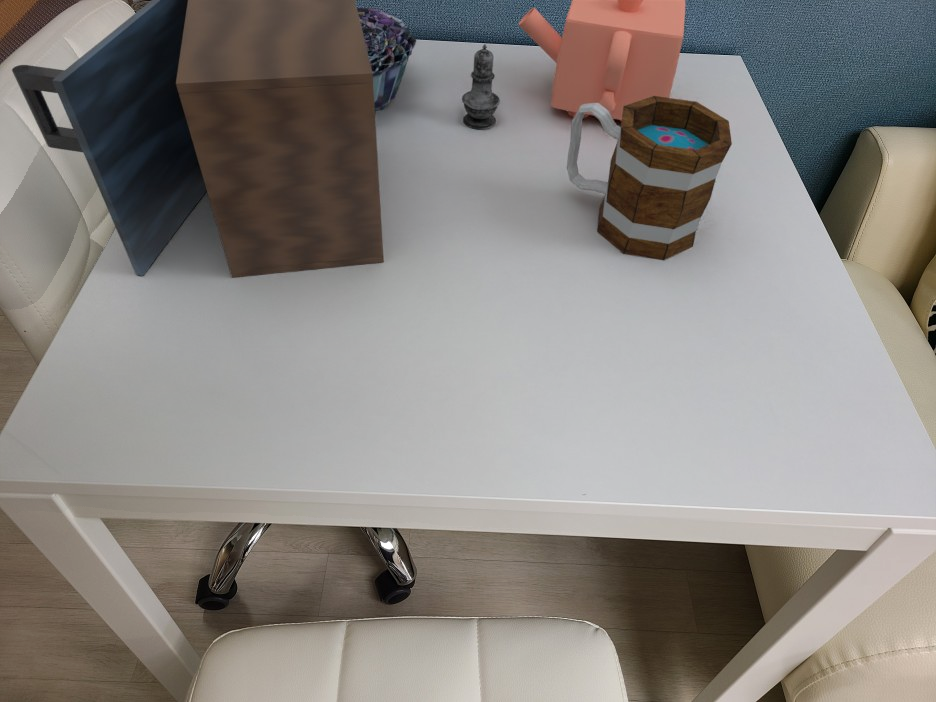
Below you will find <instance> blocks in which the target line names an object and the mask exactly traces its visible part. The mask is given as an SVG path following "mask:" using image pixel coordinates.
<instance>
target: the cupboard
mask: <svg viewBox="0 0 936 702" xmlns="http://www.w3.org/2000/svg"><path fill="white" fill-rule="evenodd" d="M357 8H358V7H357V3H356V0H188V4H187V11H186V17H185V24H184V31H183V38H182V45H181V51H180V58H179V65H178V72H177V79H176V86H177V90H178V93H179V96H180V100H181V103H182V107H183V110H184V114H185V117H186V120H187V124H188V127H189V131H190V134H191V138H192V141H193V145H194V148H195V152H196V155H197V158H198V162H199V165H200V169H201V172H202V176H203V179H204V183H205V186H206V190H207V191H206V193H207V196H208V200H209V203H210V207H211V210H212V213H213V217H214V221H215V223H216V227H217V231H218V234H219V238H220V241H221V244H222V248H223V251H224V255H225V258H226V262H227V266H228V270H229V272H230V276H231V278H241V277H251V276H260V275H271V274H281V273H291V272H300V271H309V270H320V269H330V268H331V269H332V268H340V267H351V266H361V265H369V264H380V263H381V264H382V263H384V262H385V260H384V241H383V225H382V209H381V192H380V174H379V160H378V159H379V158H378V157H379V155H378V142H377V126H376V125H377V123H376V110H375V105H374V89H373V73H372V69H371V65H370V60H369V56H368V52H367V48H366V44H365V40H364V36H363V32H362V27H361V23H360V19H359V15H358V11H357Z"/></svg>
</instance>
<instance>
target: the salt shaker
mask: <svg viewBox="0 0 936 702" xmlns="http://www.w3.org/2000/svg"><path fill="white" fill-rule="evenodd" d="M487 48H488V46H487V45H486V44H485V43H484V44H483V46H482V47H481V49H479V50H477V51H476V52H475V53H474V55H473V71H472V72H471V73H470V78H471V79H472V82H471V89H470V91H469V90H468V91H466V92H465V93H464V94H463V95H462V96H461V102H462V103H463V107H464V111H465V112H466V114H464V115H463V117H462V122H463V124H464V125H465V126H466V127H467V128H470V129H473V130H477V131H478V130H479V131H483V130H484V131H485V130H490V129H492V128H493V127H495V126H496V124H497V118H496V116H494V114H495V113H496V111H497V110H498V106H499V105H500V103H501V99H500V97H499V96H498V94H496V93H494V92H493V80H494V79H495V76H496V75H495V73H494V72H493V70H494V58H495V57H494V53H493V52H492V51H491V50H489V49H487Z"/></svg>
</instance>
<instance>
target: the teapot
mask: <svg viewBox="0 0 936 702" xmlns="http://www.w3.org/2000/svg"><path fill="white" fill-rule="evenodd" d="M685 19H686V0H571V3H570V6H569V9H568V12H567V15H566V19H565V22H564V27H563V32H562V35H560V34H559V33H558V32H557V31H556V30H555V28H554V27H553V26H552V25H551V24H550V23H549V22H548V20H546V19H545V17H544V16H543V14H541V13H540V12H539V11H538V10H537V9H536V7H532V8H531V9H529V11H528V12H526V14H525V15H524V16H523V17H522V18H521V20H520V21H519V23H518V26H519V27H520V28H521V29H522V30H523V31H524V32H525V34H526V35H528V36H529V37H530V38H531V39H532V40H533V41H534V42H535V43H536V45H538V46H539V47H540V49H542V50H543V51H544V52H545V54H546V55H548V56H549V57H550V59H551V60H552V61H553V62H554V63H555V71H554V76H553V80H552V81H553V82H552V87H551V89H552V90H551V103H550V104H551V105H550V108H554V109H557V110H563V111H567V114H568V115H569V116H570V117H572V118H574V117H575V115H576V113H577V111H578V110H579V108H580V106H581V105H583V104H589V103H599V104H600V105H602V106H603V107H604V108H605V109H607V110H608V111H609V113H610V115H611V117H612V118H613V120H619V122H620V123H622V114H623V106H626V105H629V104H631V103H634V102H637V101H640V100H643V99H646V98H649V97H652V96H659V97H667V98H671V97H670V96H671V93H672V89H673V86H674V81H675V77H676V72H677V68H678V64H679V59H680V55H681V49H682V45H683V40H684V34H685V22H686V21H685ZM589 116H594V115H593V114H592V113H585V114H584V117H583V119H586V118H588V117H589Z"/></svg>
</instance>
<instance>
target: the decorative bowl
mask: <svg viewBox="0 0 936 702" xmlns="http://www.w3.org/2000/svg"><path fill="white" fill-rule="evenodd" d="M357 11H358V15H359V19H360V23H361V27H362V32H363V36H364V40H365V44H366V48H367V52H368V56H369V60H370V65H371V69H372V73H373V89H374V105H375V111H380V110H381V111H382V110H383V109H385V108H386V107H388V106H389V103H390V101H392V100H393V99H395V98H396V96H397V92H398V90H399V88H400V85H401V82H402V79H403V76H404V74H405V70H406V67H407V64H408V61H409V58H410V56H412V55H413V49H414V48H415V46H416V43H417V39H416V37H415V36H414V35H413V34H412V33H411V31H410V28H409V27H408V26H407V25H405V23H404V21H403V20H402V19H400V18H397V17H396V16H393V15H392V14H387V13H385V12H384V11H382V10H379V9H372V8H369V7H368V8H367V7H357Z"/></svg>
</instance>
